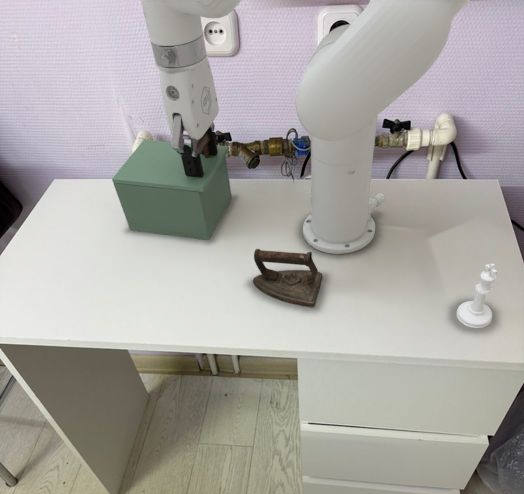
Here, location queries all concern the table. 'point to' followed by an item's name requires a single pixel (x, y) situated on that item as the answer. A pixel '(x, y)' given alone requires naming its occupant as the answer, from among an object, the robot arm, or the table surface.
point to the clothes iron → (288, 277)
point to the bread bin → (177, 207)
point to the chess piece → (478, 302)
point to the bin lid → (168, 166)
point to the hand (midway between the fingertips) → (202, 163)
